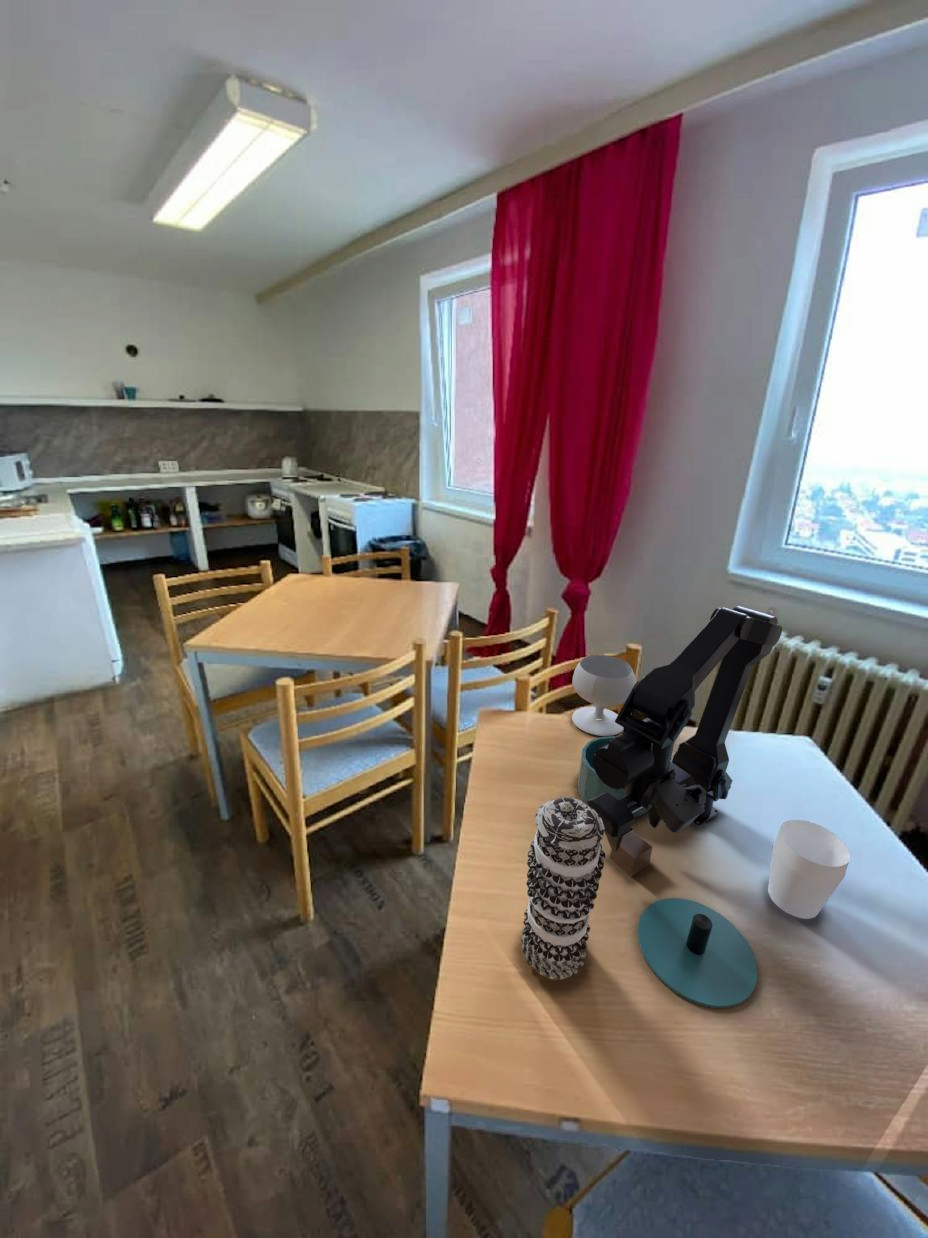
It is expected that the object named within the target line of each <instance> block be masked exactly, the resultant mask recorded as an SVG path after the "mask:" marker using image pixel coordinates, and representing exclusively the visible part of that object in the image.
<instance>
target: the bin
mask: <svg viewBox="0 0 928 1238" xmlns="http://www.w3.org/2000/svg"><path fill="white" fill-rule="evenodd" d="M616 737H617V736H614V735H611V736H599V737H596V738H593V739H591V740H589V741H587V742H586V744H585V745H584V747H583V748H582V749H581V756H580V764H579V771H578V778H577V791H578V795H579V796H580V798H581V800H582V802H583V803H585V804H587V801H588V800H590V799H592V798H594V797H596V796H598V795H600V794H602V793H605V792H609V793H610V794H612V795H613V796H614V797H615V798H617V799H618V800H620V799H622V798H624V797H626V796H627V795H626V794H625V790H624V789H623V788H621V789H613V788H611V787H608V786H607V785H605V784H604V783H603V782H602V781H601V780H600V778H599V777H598V776H597V774H596V772H595V769H594V766H593V756H594V755H595V753H596V751H598V750H599V749H600V748H602V747H604V746H606V745H607V744H608V743H609V741H610V740H612V739H613V738H616ZM646 813H649V812H648V810H646V809H645V808H644V807H643V808H641V809H639V810H637V811H636V812H634V813H633V816H634V818H636V817H641V816H643V815H645V814H646Z"/></svg>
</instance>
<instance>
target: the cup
mask: <svg viewBox="0 0 928 1238" xmlns="http://www.w3.org/2000/svg"><path fill="white" fill-rule="evenodd" d="M850 860H851V852H850V849H849V848H848V846H847V844H846V843H845V842H844V841H843V840H842V838H840V837H839V836H838V835H837V834H835V833H834V832H832V831H831V830H830V829H828V828H826V827H824V826H823V825H820V824H818V823H814V822H811V821H808V820H803V819H790V820H786V821H784V822H783V823H782V824H781V825H780V828H779V829H778V832H777V834H776V836H775V838H774V841H773V845H772V853H771V861H770V868H769V878H768V886H767V892H768V895H769V897H770V899H771V901H772V902H773V903H774V904H775V905H776V906H777V907H778V908H779V909H780V910H782V911H783V912H785V913H787V914H788V915H790V916H791V917H795V918H798V919H802V920H810V919H814V918H815V917H817V916H818V915H819V913H820V912H821V911H822V909H823V908H824V907H825V905H826V904H827V903H828V901H829V900H830V898H831V897H832V895H833V894H834V893H835V891H836V890H837V889H838V887H839V886H840V884H841V883H842V882H843V880H844V879H845V877H846V874H847V869H848V866H849V863H850Z"/></svg>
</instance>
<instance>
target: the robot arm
mask: <svg viewBox="0 0 928 1238" xmlns="http://www.w3.org/2000/svg"><path fill="white" fill-rule="evenodd" d="M778 622H779V621H778V618H777V616H774V615H770V614H768V613H764V612H760V611H757V610H754V609H750V608H747V607H743V606H740V605H737V606H735V607H733V608H732V609H731V608H727V607H723V606H722V607H716V608H715V609H714V610H713V611H712V613H711V615H710V618H709V621H708V622H707V623H706V624H705V625H704V626H703V628H702V629H701V630H700V631H699V632H698V633H697V634H696V635H695V636H694V637H693V638H692V640H691V641H690V642H689V643H688V644H687V645H686V646H685V647H684V648H683V649H682V651H680V652H679V654H678V655H677V656H676V657H675V658H674V659H673V660H672V661H671V662H669V664H667V665H662V666H658V667H654V668H653V669H652V670H650V671H649V672H648V673H647V674H646V675H644V676H643V677H642V678H641V679H639V680H638V681H637V682H635V685H634V687H633V689H632V690H631V692H630V694H629V696H628V698H627V700H626V701H625V703H623V705H622V707H621V709H620V711H619V712H618V714H617V715H618V716H617V718H616V720H615V723H617V724H619V725H620V726H622V727H624V728H623V730H622V734H621V735H619V736H615V737H616V738H613V739H612V740H610V741H609V743H608V744H607V745H606V746H604V747H602V748H600V749H599V750H598V751H596V753H595V755H594V756H593V766H594V769H595V772H596V774H597V776H598V777H599V778H600V780H601V781H602V782H603V783H604V784H605V785H607V786H608V787H611V788H613V789H621V788H623V789H624V790H625V794H626V795H627V796H626V797H624V798H622V799H620V800H618V799H617V798H615V797H614V796H613V795H612V794H610V793H609V792H605V793H602V794H600V795H598V796H596V797H594V798H592V799H590V800H588V801H587V805H588V806H589V807H590V808H592V809H593V810H595V812H596V813H597V814H598V815H599V816H600V818H601V819H602V822H603V825H604V828H605V830H604V834H605V837H606V839H607V841H608V844H609V845H610V849H611V848H612V849H613V850H614V851H618V849H619V846H620V844H621V841H622V838H623V835H625V834H627V833H628V832H630V831H632V830H633V831H634V828H633V826H634V825H635V819H636V817H634V816H633V813H634V812H636V811H637V810H639V809H641V808H643V807H644V808H645V809H646V810H648V812H647V813H648V822H649V825H650V826H651V827H652V828H653V829H656V828H657V827H658V826H659V825H660V823H661V822H663V823H664V824H665V826H666V828H667V829H668V831H670V832H672V833H679V832H680V831H682V830H683V829H685V828H687V827H688V826H690V825H692V823H693V824H695V825H697V826H701V825H703V824H705V823H708V822H709V821H711V820H713V819H714V818H715V817H717V816H719V814H720V811H719V810H718V809H716V808H715V807H714V806H713V805H714V802H717V801H719V800H726V799H728V795H729V791H730V789H731V787H732V786H731V785H732V784H733V779H732V778H731V776H730V775H729V773H728V772H727V768H728V766H729V762H730V758H729V753H728V750H727V747H726V740H727V738H728V735H729V733H730V729H731V726H732V724H733V721H734V718H735V716H736V713H737V710H738V709H739V708H738V707H739V705H740V703H741V700H742V697H743V695H744V691H745V688H746V686H747V684H748V680H749V678H750V676H751V673H752V670H753V667H754V666H755V665H756V664H757V663H758V662H760V661H761V660H763V659H764V658H766V657H767V656H768V655H769V654H771V652H772V649H773V647H774V646H776V644H777V643H778V642H779V640H780V639H781V636H782V632H783V626H782V625H780V624H779V623H778ZM718 665H719V667H718V670H717V673H716V675H715V677H714V681H713V683H712V686H711V689H710V691H709V695H708V697H707V701H706V704H705V706H704V709H703V712H702V715H701V717H700V720H699V723H698V725H697V729H696V731H695V734H694V735H692V736H691V737H689V738H688V739H686V740H685V741H682V742H681V743H679V745H678V747H677V750H676V751H675V753H674V755H673V750H674V746H675V742H676V741H677V740H678V738H679V736H680V734H681V733H682V732H683V730H684V728H685V727H686V725H687V724H688V723H689V721H690V719H691V718H692V715H693V713H692V711H693V709H694V707H695V705H696V691H697V689H698V688H699V687H700V685H701V684H702V683H703V682H704V681H705V680H706V678H707V677H708V676H709V675H710V673H712V671H713V670H714V669H715V668H716V667H717V666H718ZM633 712H635V713H637V714H639V715H641V716H643V717H645V718H644V719H641V718H638V717H637V716H635V715H634V714H633ZM632 714H633V715H632ZM672 755H673V757H672Z"/></svg>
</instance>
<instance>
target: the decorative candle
mask: <svg viewBox="0 0 928 1238" xmlns="http://www.w3.org/2000/svg"><path fill="white" fill-rule="evenodd" d="M534 820H535V826H536V832H535V834H534V839H533V841H532V842H531V843H530V846H529V847H530V848H529V849H530V850H529V851H528V852H527V858H528V859H527V861H526V865H527V867H528V868H529V869H528V870H527V874H526V877H527V880H526V883H525V884H526V887H527V891H526V893H527V896H528V902H527V909H526V910H524V912H523V916H524V917H525V918H524V919H523V925H524V926H523V928H522V929H521V930H522V931H521V933H522V934H521V935H522V936H521V943H522V945H521V952H522V954H524V956H525V960H526V962H527V964H528V965H530V966H531V967H532V969H533V970H534V971H535V973H538V974H539V975H541V976H543V977H544V978H547V979H551V980H557V981H559V980H563V979H564V980H565V979H567V980H568V979H570V978H571V976H572V975H573V974H574V975H577V974H578V973H579V969H578V968H579V967H584V965H585V963H584V961H583V960H582V959H586V956H587V952H586V951H584V950H586V949H588V944H587V941H588V940H589V938H590V936H589V932H590V931H591V926H590V925H589V918H590V913H591V912H592V911H593V909H594V908H595V900H596V899H597V897H598V895H597V894H598V893H597V892H598V891H599V888H600V882H599V881H600V880H601V878H602V877H603V872H602V871H603V869H604V867H605V861H604V859H606V853H605V851H604V850H603V845H602V843H601V840H602V839H603V838H604V834H605V831H604V830H605V828H604V825H603V822H602V819H601V818H600V816H599V815H598V814H597V813H596V812H595V810H593V809H592V808H590V807H589V806H588V805H587V804H586V803H585V802H584V801H583V800H581V799H577V798H574V797H563V796H562V797H559V798H555V799H552V800H548V801H546V802H544V803H543V804H542V805H540V806H539V807H538V809H537V811H536V813H535V815H534Z"/></svg>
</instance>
